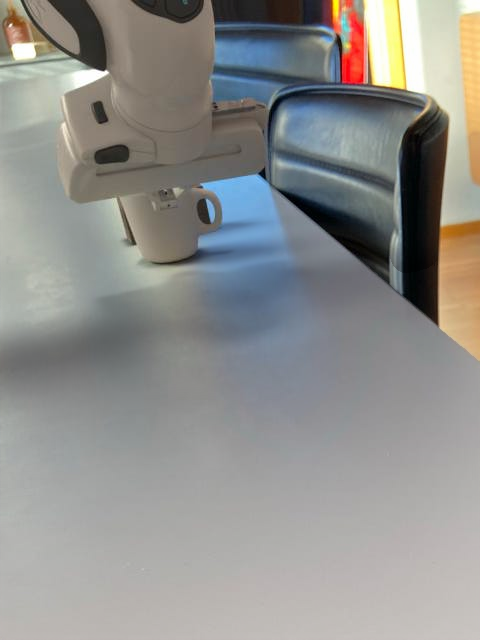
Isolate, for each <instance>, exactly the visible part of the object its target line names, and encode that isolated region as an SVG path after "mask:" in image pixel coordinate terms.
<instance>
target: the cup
mask: <svg viewBox="0 0 480 640" xmlns="http://www.w3.org/2000/svg"><path fill="white" fill-rule="evenodd" d="M119 198H120V201H121V203H122V206H123V209H124V211H125V214H126V217H127V220H128V222H129V225H130V228H131V230H132V233H133V236H134V238H135V241H136V244H135V245H136V246H137V249H138V251H139V253H140V255H141V256H142V257H143V258H144V259H145V260H146V261H149V262H152V263H160V264H161V263H162V264H163V263H173V262H177V261H182V260H185V259H187V258H188V259H189V258H190V257H192V256H193V255H194V254H195V253H196V252H197V251H198V248H199V237H200V236H203V235H209V234H212V233H215V232H216V231H218V230H219V229H220V227H221V225H222V222H223V208H222V203H221V201H220V199H219V196H218V195H217V194H216V193H214V192H213V191H212V190H210V189H207V188H204V187H203V188H194V187H193V188H192V189H191V190H190V191H189V192H188V194H187V195H186V196H185V197H184V198H182V207H177V208H171V209H164V210H160V211H155V210H154V207H153V205H152V202H151V200H150V199H148V198H147V197H146V196H145V195H144V193H142V194H136V195H130V196H124V197H119ZM203 198H205V199H206V200H208V201H209V202H210V203H211V204H212V207H213V210H214V219H213V221H212V222H211V224H204V223H203V222H202V221H201V220H200V219H199V217H198V213H197V203H198V201H199V200H200V199H203Z"/></svg>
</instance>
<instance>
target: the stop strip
mask: <svg viewBox="0 0 480 640" xmlns="http://www.w3.org/2000/svg"><path fill="white" fill-rule="evenodd" d="M193 187H194V188H203V189H204V186H203V185H202V184H196V185H193ZM116 202H117V205H118V209H119V213H120V217H121V220H122V224H123V228H124V232H125V235H126V240H127V241H128V242H129V243H130V244H131V245H137V244H136V241H135V238H134V236H133V233H132V230H131V228H130V225H129V222H128V220H127V217H126V214H125V211H124V209H123V206H122V203H121V201H120V198H119V197H118V198H116ZM197 213H198V217H199V219H200V220H201V221H202V222H203V223H204V224H211V223H212V221H211V217H210V213H209V208H208V202H207V199H205V198H203V199H200V200H199V201H198V203H197Z"/></svg>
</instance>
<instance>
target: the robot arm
mask: <svg viewBox="0 0 480 640" xmlns="http://www.w3.org/2000/svg"><path fill="white" fill-rule="evenodd" d="M19 1H20V3H21V5H22V8H23V9H24V12H25V14H26V15H27V17H28V18H29V20H30V22H31V23H32V24H33V26H34V27H35V29H37V31H38V32H39V33H40V34H41V35H42V36H43V37H44V38H45V39H46V40H47V41H48V42H49V43H50V44H52V46H54V47H55V48H57V49H58V50H59V51H61V52H62V53H64V54H65V55H67V56H69V57H70V58H72V59H74V60H76V61H78V62H80V63H82V64H83V65H85V66H87V67H89V68H91V69H94V70H96V71H98V72H103V73H104V72H106V71H107V74H105V75H104V76H101V77H100V78H98V79H96V80H93V81H92V82H90V83H87V84H85V85H81V86H80V87H77V88H75V89H71V90H69V91H67V92H65V93H64V94H62V95H61V97H60V106H61V111H62V116H63V119H64V120H63V121H62V122H61V123H60V125H59V127H58V130H57V134H56V161H57V164H56V165H57V169H58V174H59V177H60V180H61V183H62V186H63V189H64V191H65V193H66V196H67V198H68V199H69V200H70V201H72V202H74V203H76V204H78V205H82V204H87V203H94V202H100V201H105V200H112V199H117V198H118V197H124V196H130V195H136V194H142V193H144V195H145V196H146V197H147V198H148V199H150V200H151V202H152V205H153V207H154V210H155V211H160V210H164V209H171V208H177V207H182V198H184V197H185V196H186V195H187V194H188V192H189V191H190V190H191V189H192V188H193V185H196V184H200V185H202V184H208V183H213V182H219V181H225V180H231V179H237V178H243V177H248V176H254V175H255V176H256V175H258V174H259V173H260V172H261V171H262V170H263V169H264V168H265V167H266V166H267V165H266V164H267V151H266V149H267V148H266V143H265V142H266V141H265V137H264V133H263V131H264V130H265V129H266V128H267V126H268V123H269V116H270V114H269V113H270V112H269V110H270V109H269V108H268V105H267V104H266V103H264V102H263V101H258V100H256V99H255V98H254V97H242V98H240V99H237V100H221V101H214V89H213V88H214V87H213V82H212V81H211V77H212V74H213V72H214V68H215V67H214V66H215V56H216V55H215V54H216V51H215V50H216V49H215V48H216V35H215V32H216V31H215V18H214V11H213V6H212V5H213V4H212V0H19Z"/></svg>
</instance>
